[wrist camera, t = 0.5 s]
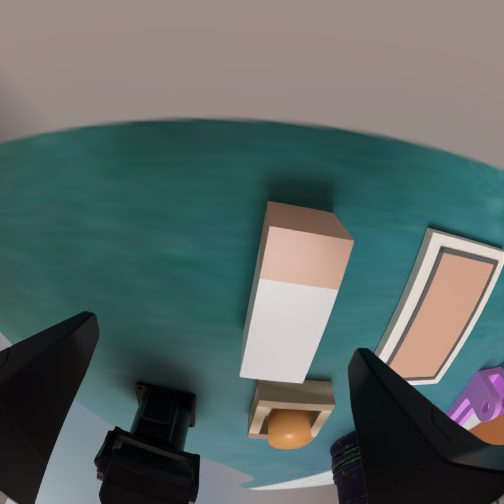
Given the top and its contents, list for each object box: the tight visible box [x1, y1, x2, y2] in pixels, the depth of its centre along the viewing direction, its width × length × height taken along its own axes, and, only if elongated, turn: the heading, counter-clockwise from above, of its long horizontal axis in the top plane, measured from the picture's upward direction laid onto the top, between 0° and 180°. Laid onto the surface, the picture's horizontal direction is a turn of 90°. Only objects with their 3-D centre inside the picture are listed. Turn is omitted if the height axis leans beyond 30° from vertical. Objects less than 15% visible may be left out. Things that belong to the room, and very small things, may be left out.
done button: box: [268, 408, 312, 449], centre depth 24 cm, size 4×4×3 cm
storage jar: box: [330, 431, 368, 504], centre depth 25 cm, size 10×10×15 cm
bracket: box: [446, 367, 504, 425], centre depth 26 cm, size 13×6×7 cm, turn 174°
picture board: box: [374, 228, 504, 385], centre depth 22 cm, size 16×10×1 cm, turn 171°
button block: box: [247, 379, 336, 441], centre depth 26 cm, size 7×7×3 cm
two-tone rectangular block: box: [239, 201, 354, 383], centre depth 19 cm, size 11×4×5 cm, turn 171°
